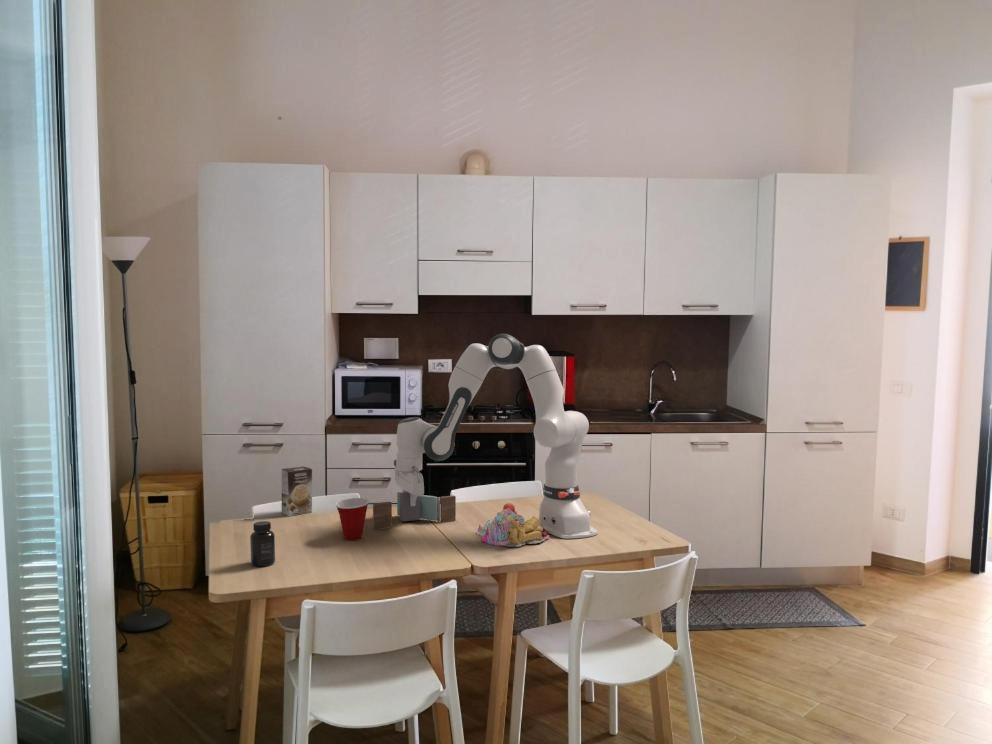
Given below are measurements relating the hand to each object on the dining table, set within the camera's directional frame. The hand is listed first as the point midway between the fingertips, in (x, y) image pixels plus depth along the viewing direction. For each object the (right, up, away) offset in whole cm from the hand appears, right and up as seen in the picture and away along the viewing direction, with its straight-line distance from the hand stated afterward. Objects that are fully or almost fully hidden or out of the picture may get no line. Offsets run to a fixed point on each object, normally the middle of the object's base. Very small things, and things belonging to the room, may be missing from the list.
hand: (409, 503), depth 279 cm
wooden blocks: (+3, -7, -3) cm, 8 cm away
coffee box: (-41, -5, +10) cm, 43 cm away
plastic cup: (-16, -8, -19) cm, 27 cm away
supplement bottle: (-38, -10, -45) cm, 60 cm away
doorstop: (0, -5, 0) cm, 5 cm away
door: (+3, -6, +3) cm, 7 cm away
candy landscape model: (+35, -9, -16) cm, 39 cm away
